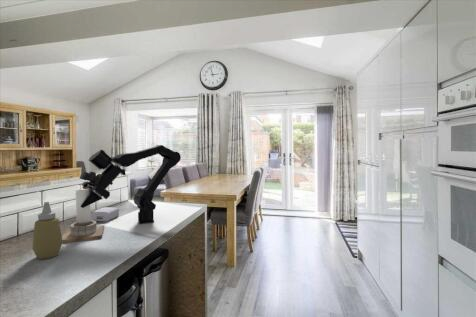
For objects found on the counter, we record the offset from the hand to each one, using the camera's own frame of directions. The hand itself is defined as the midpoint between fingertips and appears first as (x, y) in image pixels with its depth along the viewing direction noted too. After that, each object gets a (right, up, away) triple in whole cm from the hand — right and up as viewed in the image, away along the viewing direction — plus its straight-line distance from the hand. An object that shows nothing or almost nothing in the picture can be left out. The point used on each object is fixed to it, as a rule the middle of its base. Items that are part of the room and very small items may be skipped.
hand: (79, 206), depth 103 cm
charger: (-3, -11, +28) cm, 31 cm away
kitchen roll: (+1, -7, +1) cm, 7 cm away
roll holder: (+1, -12, +2) cm, 12 cm away
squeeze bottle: (+1, -13, -18) cm, 22 cm away
